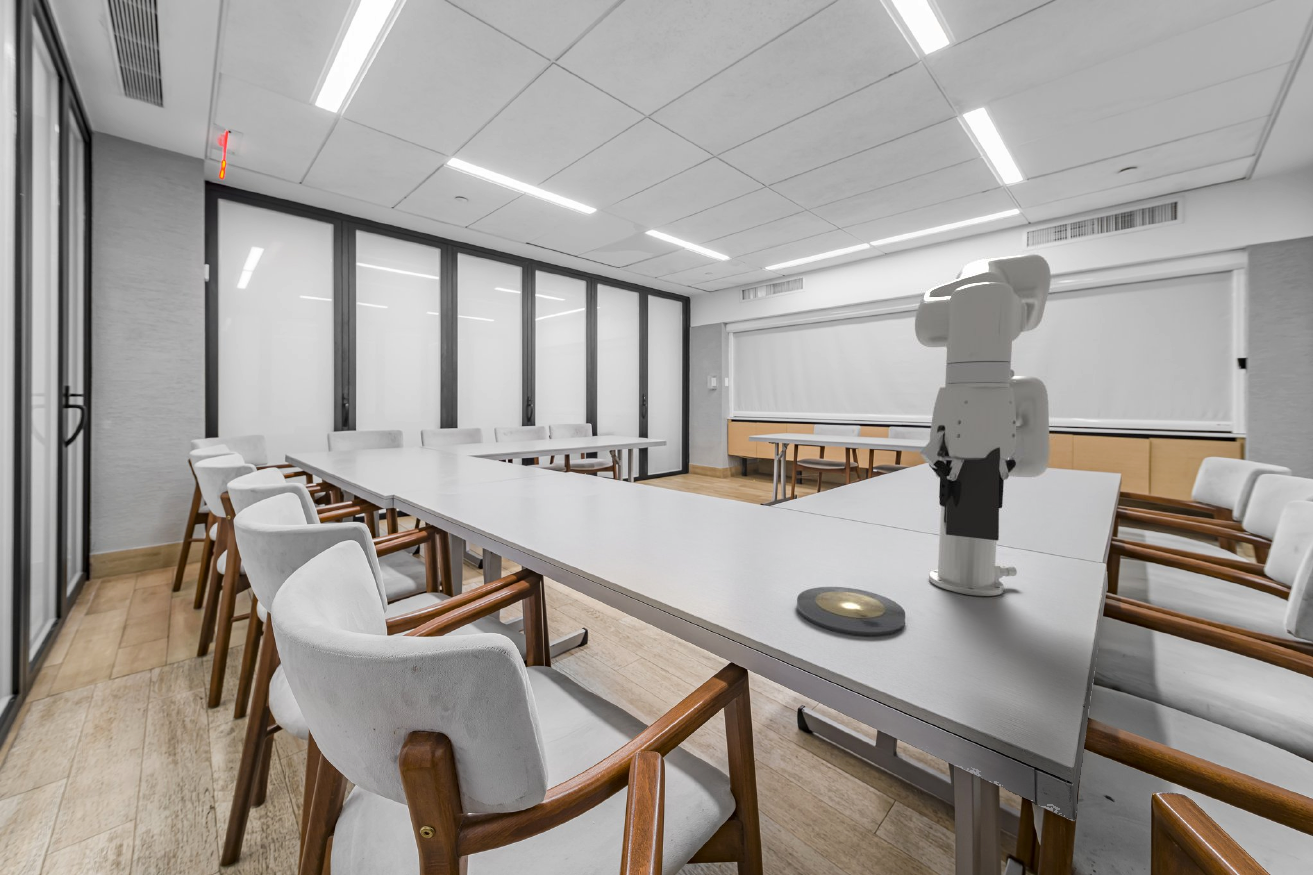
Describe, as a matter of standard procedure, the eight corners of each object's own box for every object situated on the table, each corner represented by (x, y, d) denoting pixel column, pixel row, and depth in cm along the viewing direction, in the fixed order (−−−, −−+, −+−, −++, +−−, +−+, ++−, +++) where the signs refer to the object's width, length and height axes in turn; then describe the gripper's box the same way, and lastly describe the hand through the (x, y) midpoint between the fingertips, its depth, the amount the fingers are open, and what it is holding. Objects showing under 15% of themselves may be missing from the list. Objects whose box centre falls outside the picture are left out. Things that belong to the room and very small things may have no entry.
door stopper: (943, 521, 77) (947, 442, 76) (990, 526, 74) (995, 444, 73) (945, 535, 69) (949, 446, 68) (998, 541, 66) (1003, 449, 65)
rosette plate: (867, 592, 95) (868, 583, 95) (928, 633, 79) (929, 622, 78) (781, 596, 93) (781, 587, 93) (825, 639, 76) (825, 628, 76)
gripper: (1009, 379, 75) (1003, 500, 76) (902, 377, 72) (897, 503, 73) (1056, 376, 67) (1048, 511, 69) (938, 375, 65) (932, 514, 66)
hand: (970, 505), depth 71 cm, fingers closed on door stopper, 5 cm apart
